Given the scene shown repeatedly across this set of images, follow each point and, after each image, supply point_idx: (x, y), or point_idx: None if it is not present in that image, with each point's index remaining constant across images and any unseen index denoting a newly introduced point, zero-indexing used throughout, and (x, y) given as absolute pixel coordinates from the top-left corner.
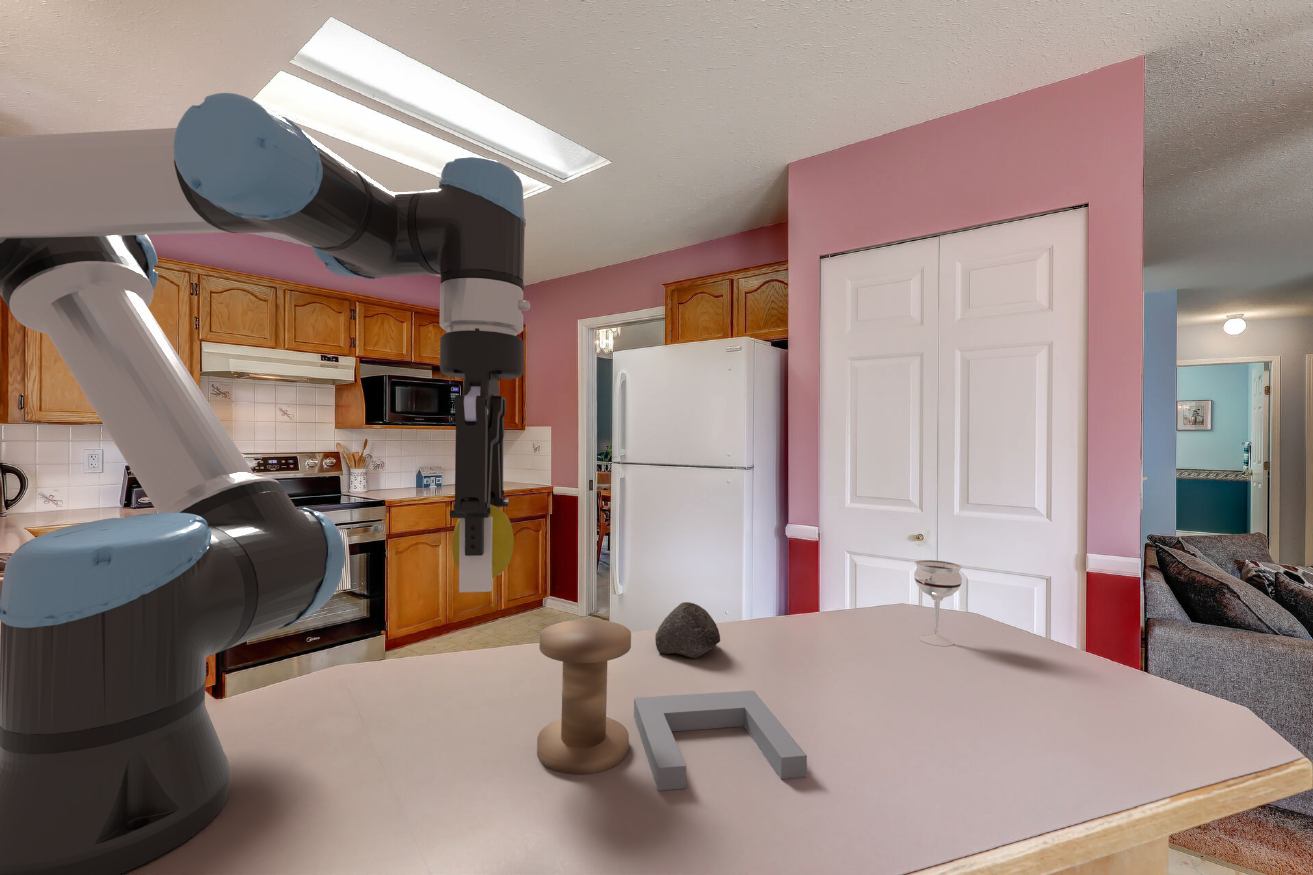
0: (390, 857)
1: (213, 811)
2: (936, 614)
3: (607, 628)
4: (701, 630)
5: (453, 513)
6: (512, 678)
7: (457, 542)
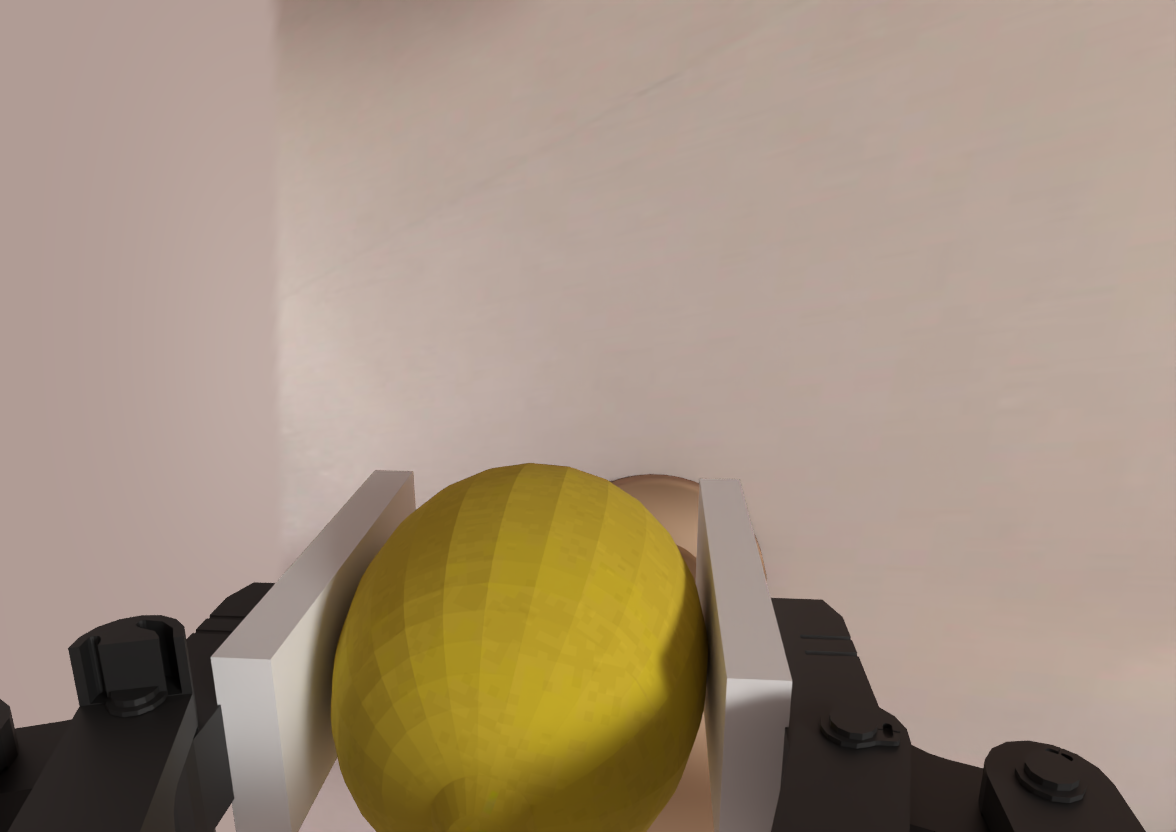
0: (298, 227)
1: None
2: None
3: (697, 827)
4: None
5: (92, 657)
6: (1136, 380)
7: (391, 541)
